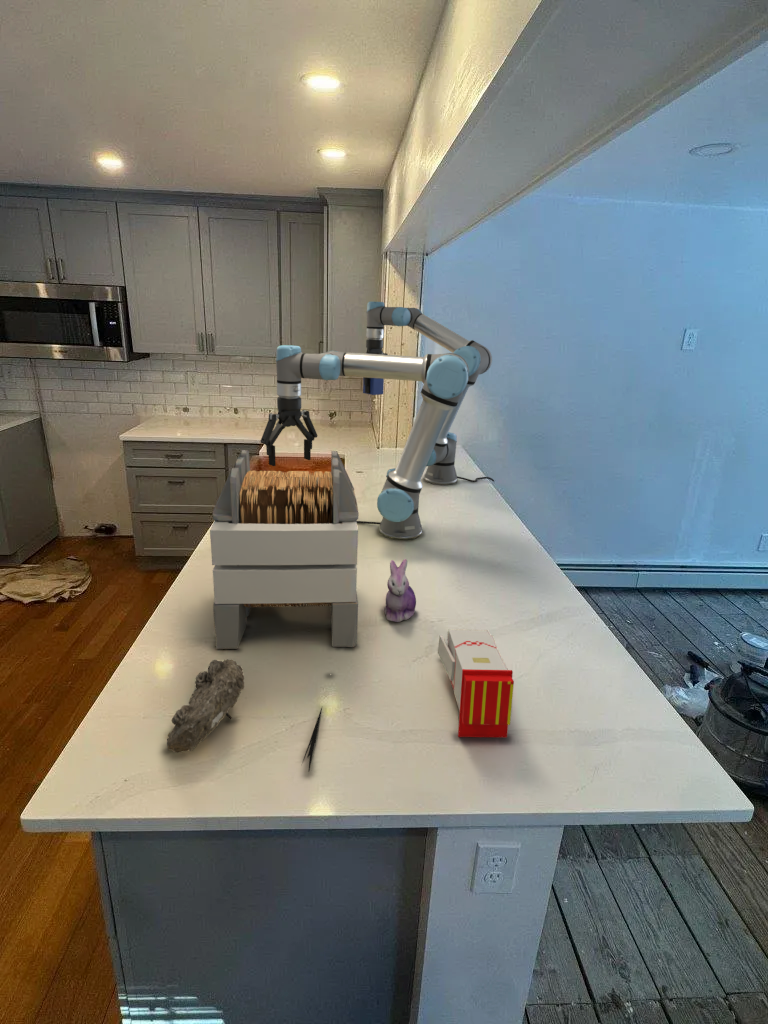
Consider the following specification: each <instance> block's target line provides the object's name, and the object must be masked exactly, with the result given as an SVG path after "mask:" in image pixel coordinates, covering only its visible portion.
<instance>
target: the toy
mask: <svg viewBox="0 0 768 1024" xmlns="http://www.w3.org/2000/svg"><path fill="white" fill-rule="evenodd" d="M446 640H447V643H446V641H445V639H444V636H443V635H442V634H439V637H438V646H437V656H438V657H439V659H440V661H441V663H442V666H443V668H444V670H445V672H446V674H447V677H448V679H449V681H450V684H451V687H452V690H453V693H454V697H455V701H456V705H457V708H458V711H459V714H458V715H459V716H458V730H457V731H458V732H457V737H458V738H508V731H509V726H510V725H511V717H512V707H513V697H514V696H513V695H514V684H515V680H514V679H513V673H514V671H513V670H512V669H508V667H507V665H506V662H505V661H504V659H503V658H502V655H501V653H500V651H499V649H498V647H497V643H496V639H495V637H494V635H493V634H491V632H490V631H489V629H467V628H466V629H465V628H463V629H461V628H460V629H459V628H448V630H447V639H446Z"/></svg>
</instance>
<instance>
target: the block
mask: <svg viewBox="0 0 768 1024" xmlns="http://www.w3.org/2000/svg"><path fill="white" fill-rule="evenodd" d="M384 383H385V379H381V378H371V381H370V393H365V385H364V378H363V377H362V394H366V395H371V396H379V395H384V387H385V384H384Z"/></svg>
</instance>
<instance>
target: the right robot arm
mask: <svg viewBox="0 0 768 1024" xmlns="http://www.w3.org/2000/svg"><path fill="white" fill-rule="evenodd" d="M385 326H389V327H391V326H392V327H408V328H411V329H412V330H414V331H416V332H418V333H419V334H421V335H422V336H424V337H426V338H427V339H429V340H431V341H432V342H433V343H436V344H437V345H439V346H441V347H442V348H444V349H445V350H447V351H449V352H450V353H455V354H458V355H460V356H461V357H463V358H464V359H465V361H466V362H467V364H468V367H469V377H468V382H467V385H466V387H465V389H464V390H463V392H462V395H461V397H460V399H459V402H458V404H457V406H456V408H453V409H451V410H449V413H448V415H447V417H446V420H445V422H444V424H443V427H442V429H441V432H440V434H439V436H438V439H437V441H436V444H435V446H434V448H433V451H432V453H431V456H430V458H429V460H428V463H427V465H426V471H425V473H424V476H423V477H424V478H423V480H424V481H425V482H426V483H428V484H431V485H435V486H436V485H437V486H451V485H455V484H457V482H458V479H459V480H463V481H467V482H470V483H477V482H478V480H487V479H488V480H490V481H491V482H495V479H493V478H492V477H490V476H482V477H481V476H480V477H476V478H475V479H469V478H465V477H462V476H458V475H457V471H456V467H455V464H456V452H457V443H458V441H457V439H458V438H457V437H458V436H457V433H454V432H450V429H451V427H452V426H453V423H454V421H455V419H456V416H457V414H458V412H459V410H460V408H461V405H462V403H463V401H464V399H465V397H466V395H467V393H468V390H469V389H470V388H471V387H473V386H474V385H475V384H476V382H477V379H478V378H479V375H483V374H485V373H486V372H488V371H489V369H490V368H491V366H492V364H493V355H492V352H491V351H490V350H489V348H488V347H487V346H484V345H483V344H481V343H479V342H477V341H476V340H474V339H471V340H469V339H467V338H465V337H463V336H462V335H459V334H458V333H456V332H454V331H453V330H451V329H449V328H448V327H446V326H444V325H443V324H441V323H439V322H437V321H436V320H434V319H432V317H431V318H430V317H429V316H428V315H425V314H423V312H422V310H420V309H419V308H416V307H403V306H385V302H384V301H368V302H367V304H366V329H365V330H366V331H365V332H366V333H365V338H366V340H365V348H366V351H365V352H364V353H365V354H381V355H389V354H388V353H386V352H384V351H383V349H384V340H383V339H384V332H385V331H384V328H385ZM363 378H364V385H365V393H370V381H371V378H367V377H362V379H363ZM365 393H364V394H365Z"/></svg>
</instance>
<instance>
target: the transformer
mask: <svg viewBox="0 0 768 1024" xmlns="http://www.w3.org/2000/svg"><path fill="white" fill-rule="evenodd" d="M330 459H331V460H330V461H331V462H330V466H331V467H330V471H324V472H323V471H320V470H319V471H317V470H316V471H315V470H314V472H310V471H309V470H288V471H281V470H278V471H277V470H259V471H258V470H251V464H250V450H249V449H247V450H246V449H241V450H240V453H239V455H238V457H237V459H236V461H235V463H234V465H233V467H232V468H231V470H230V472H229V474H228V477H227V479H226V481H225V483H224V485H223V488H222V490H221V492H220V495H219V497H218V499H217V501H216V503H215V506H214V507H213V510H212V520H213V523H212V524H211V527H210V529H209V538H210V555H211V565H212V566H214V567H213V569H212V584H213V600H214V601H213V605H212V610H213V611H212V612H213V624H214V633H215V646H214V648H215V649H216V650H222V651H223V649H225V650H227V649H229V650H230V649H233V650H234V649H235V650H237V649H238V648H239V646H240V643H241V641H242V638H243V635H244V633H245V630H246V628H247V618H249V615H250V612H251V608H270V607H272V608H276V607H277V608H279V607H280V608H282V607H285V608H288V607H291V608H294V607H295V608H296V607H306V606H307V607H326V606H328V607H330V617H331V618H330V620H331V621H330V625H331V626H330V627H331V647H333V648H335V647H337V648H338V647H339V648H340V647H347V648H354V647H356V646H358V622H359V621H358V618H359V600H358V592H357V583H358V568H357V564H358V547H359V546H358V545H359V528H358V527H359V526H358V523H357V521H358V520H359V515H360V514H359V507H358V502H357V498H356V497H357V496H356V493H355V492H356V491H355V487H354V485H353V482H352V481H351V478H350V477H349V474H348V472H347V470H346V468H345V465H344V463H343V461H342V459H341V457H340V455H339V453H338V451H337V450H331V458H330Z"/></svg>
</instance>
